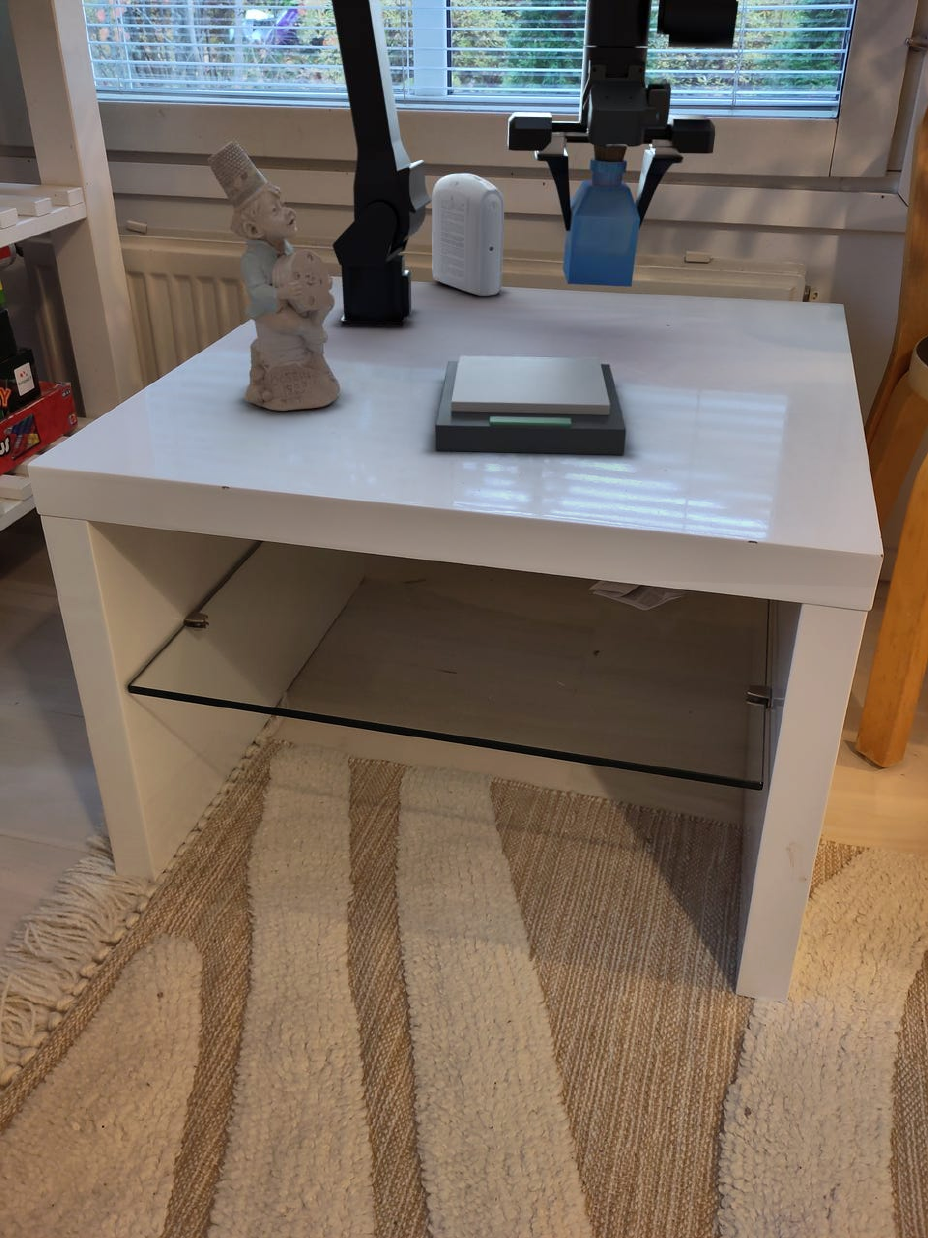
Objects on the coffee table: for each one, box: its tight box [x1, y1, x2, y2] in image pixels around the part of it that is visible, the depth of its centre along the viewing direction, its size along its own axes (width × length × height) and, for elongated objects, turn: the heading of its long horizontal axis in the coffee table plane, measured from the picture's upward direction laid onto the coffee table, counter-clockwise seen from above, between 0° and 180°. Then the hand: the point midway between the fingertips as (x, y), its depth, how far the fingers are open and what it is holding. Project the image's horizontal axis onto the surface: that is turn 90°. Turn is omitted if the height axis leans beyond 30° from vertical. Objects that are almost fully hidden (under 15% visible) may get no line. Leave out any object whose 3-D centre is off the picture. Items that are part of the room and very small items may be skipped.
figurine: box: [207, 138, 341, 412], centre depth 80 cm, size 9×8×20 cm
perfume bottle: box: [562, 144, 640, 288], centre depth 98 cm, size 6×6×12 cm
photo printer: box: [431, 173, 505, 297], centre depth 117 cm, size 10×4×12 cm, turn 36°
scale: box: [434, 354, 627, 456], centre depth 81 cm, size 14×16×3 cm
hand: (601, 230), depth 99 cm, fingers closed on perfume bottle, 6 cm apart
